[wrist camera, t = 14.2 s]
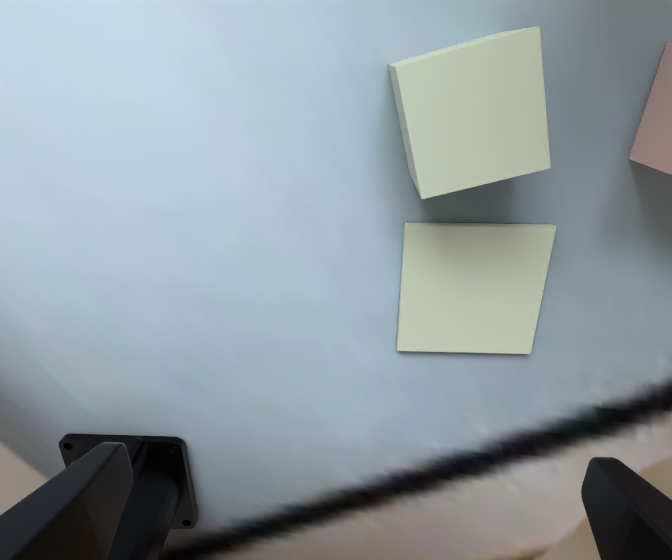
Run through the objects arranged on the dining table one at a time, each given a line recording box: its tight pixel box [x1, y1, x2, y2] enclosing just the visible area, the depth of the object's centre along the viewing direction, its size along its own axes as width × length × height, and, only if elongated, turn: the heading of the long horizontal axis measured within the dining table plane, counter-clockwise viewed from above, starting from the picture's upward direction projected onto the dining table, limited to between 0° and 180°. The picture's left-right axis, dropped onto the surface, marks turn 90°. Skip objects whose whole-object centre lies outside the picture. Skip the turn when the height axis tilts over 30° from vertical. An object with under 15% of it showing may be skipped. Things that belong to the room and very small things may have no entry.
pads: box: [396, 223, 556, 354], centre depth 20 cm, size 6×19×1 cm, turn 90°
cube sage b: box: [388, 26, 550, 199], centre depth 16 cm, size 4×4×4 cm
